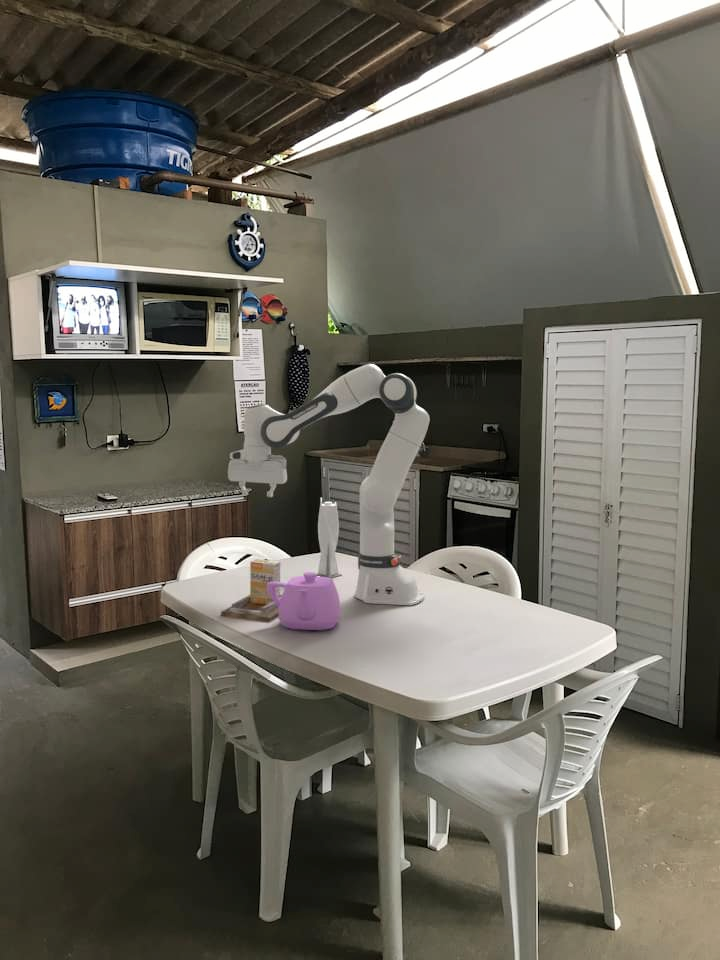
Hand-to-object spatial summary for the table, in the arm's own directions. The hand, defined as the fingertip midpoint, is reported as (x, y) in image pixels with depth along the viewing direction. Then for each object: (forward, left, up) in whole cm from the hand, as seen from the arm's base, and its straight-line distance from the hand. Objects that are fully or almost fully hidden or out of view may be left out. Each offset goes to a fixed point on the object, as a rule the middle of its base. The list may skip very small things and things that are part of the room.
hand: (257, 496), depth 254 cm
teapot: (-32, +31, -31) cm, 55 cm away
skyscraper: (-15, -25, -31) cm, 43 cm away
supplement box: (-12, +19, -30) cm, 37 cm away
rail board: (-12, +21, -31) cm, 39 cm away
